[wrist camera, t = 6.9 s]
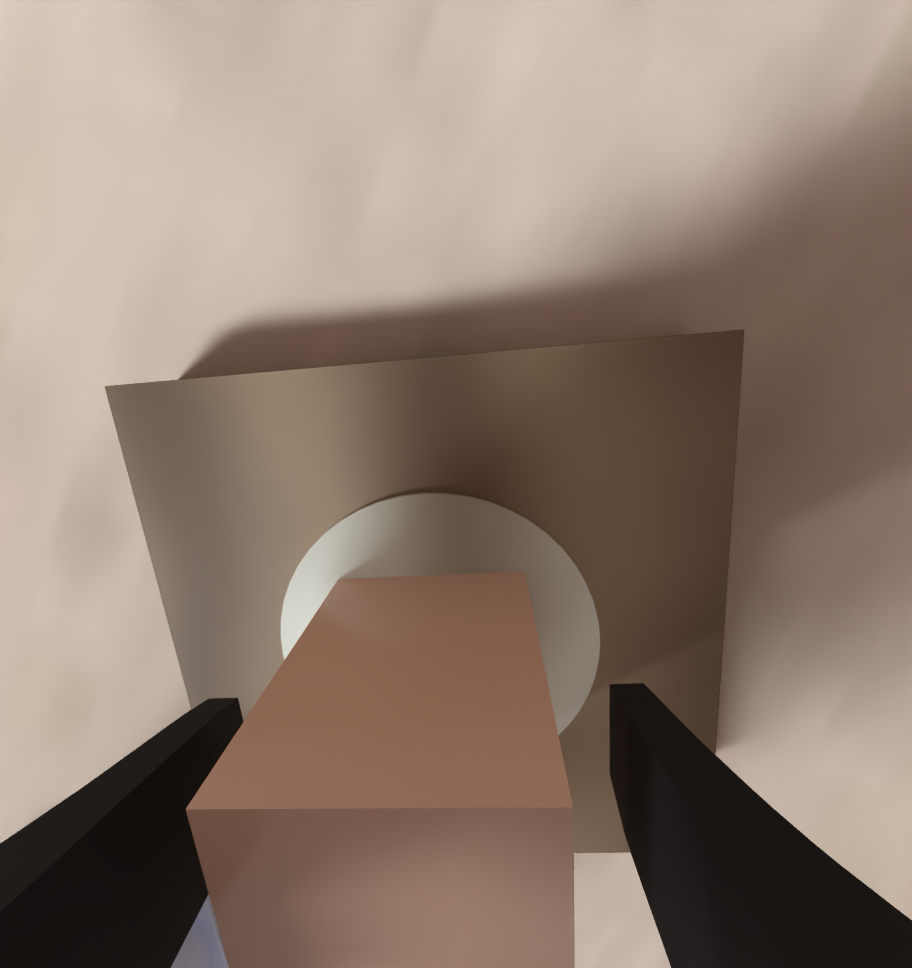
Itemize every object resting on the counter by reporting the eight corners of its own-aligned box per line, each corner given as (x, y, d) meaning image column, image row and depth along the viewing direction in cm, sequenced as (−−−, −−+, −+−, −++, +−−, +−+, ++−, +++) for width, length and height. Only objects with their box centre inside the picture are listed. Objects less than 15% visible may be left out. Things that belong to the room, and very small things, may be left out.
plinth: (267, 783, 16) (227, 863, 14) (174, 381, 13) (97, 386, 10) (673, 774, 15) (712, 859, 13) (691, 336, 12) (749, 329, 9)
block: (361, 732, 12) (253, 1060, 7) (338, 578, 11) (184, 809, 5) (530, 730, 12) (575, 1070, 6) (524, 571, 11) (573, 807, 5)
